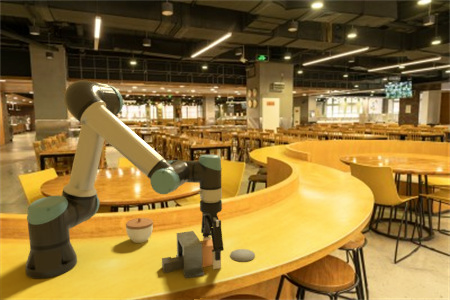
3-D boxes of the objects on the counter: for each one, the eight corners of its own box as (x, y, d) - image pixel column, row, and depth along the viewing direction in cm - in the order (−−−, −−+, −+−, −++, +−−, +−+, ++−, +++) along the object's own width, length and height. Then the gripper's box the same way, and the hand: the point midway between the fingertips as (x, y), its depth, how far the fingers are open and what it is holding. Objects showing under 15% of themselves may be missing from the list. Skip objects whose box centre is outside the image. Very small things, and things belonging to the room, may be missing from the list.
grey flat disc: (226, 252, 111) (226, 251, 111) (248, 248, 115) (248, 247, 115) (236, 263, 103) (235, 262, 103) (259, 259, 106) (259, 257, 106)
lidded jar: (155, 234, 129) (155, 213, 127) (150, 245, 118) (149, 222, 117) (130, 235, 128) (129, 214, 127) (123, 245, 118) (122, 223, 116)
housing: (176, 257, 108) (175, 231, 107) (192, 254, 110) (191, 228, 109) (185, 278, 94) (185, 249, 92) (204, 275, 96) (203, 246, 95)
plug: (161, 266, 101) (161, 246, 101) (212, 257, 107) (212, 239, 107) (164, 273, 97) (163, 253, 96) (216, 264, 103) (216, 244, 102)
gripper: (191, 192, 111) (193, 249, 114) (210, 210, 90) (211, 279, 93) (211, 190, 114) (211, 245, 117) (233, 207, 93) (234, 274, 95)
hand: (211, 260), depth 105 cm, fingers open, 10 cm apart
